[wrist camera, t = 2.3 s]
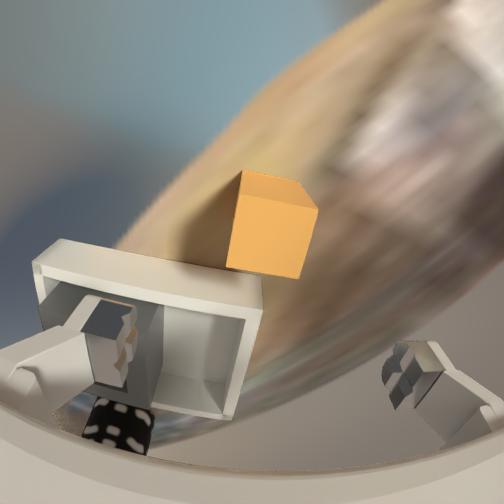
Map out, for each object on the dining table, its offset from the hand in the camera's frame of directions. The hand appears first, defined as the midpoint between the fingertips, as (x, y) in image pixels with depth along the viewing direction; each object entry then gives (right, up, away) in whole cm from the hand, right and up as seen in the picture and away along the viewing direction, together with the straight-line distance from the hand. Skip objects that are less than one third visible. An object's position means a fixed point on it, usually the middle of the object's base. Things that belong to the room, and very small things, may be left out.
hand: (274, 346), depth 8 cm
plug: (0, +6, +13) cm, 15 cm away
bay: (-10, -4, +18) cm, 21 cm away
